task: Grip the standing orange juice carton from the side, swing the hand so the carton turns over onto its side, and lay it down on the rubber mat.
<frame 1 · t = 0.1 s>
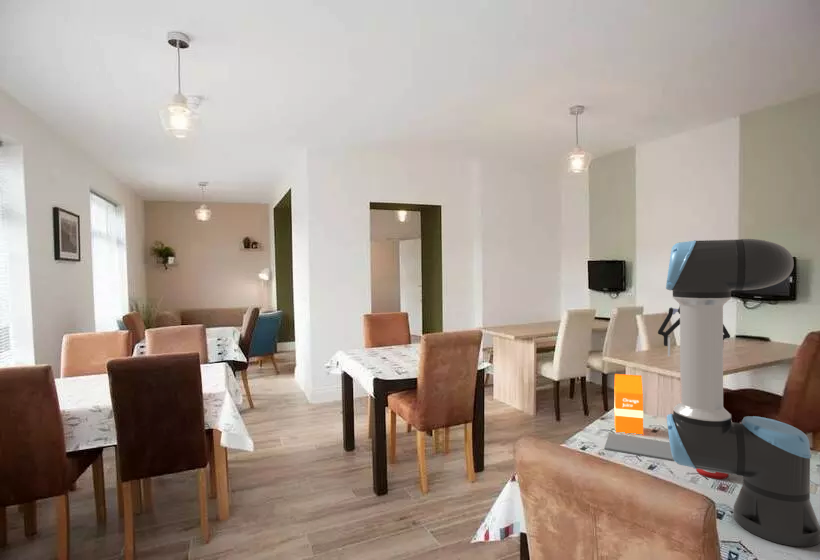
hand: (692, 357, 149), 28 cm above the table, tool pointing down, fingers open, 13 cm apart
mat: (642, 447, 145), on the table
canned food: (712, 474, 126), on the table
orange juice: (628, 430, 160), on the table
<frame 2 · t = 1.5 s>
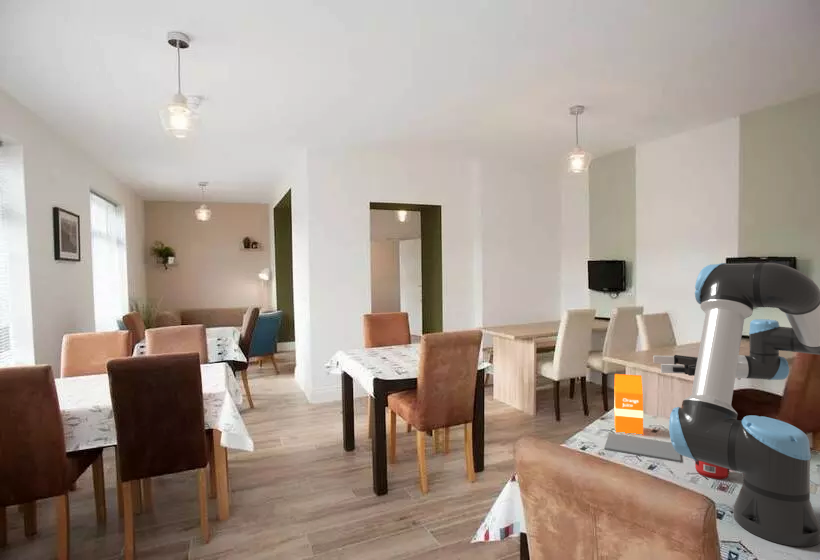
hand: (657, 363, 156), 24 cm above the table, tool horizontal, fingers open, 13 cm apart
nothing on the table moved.
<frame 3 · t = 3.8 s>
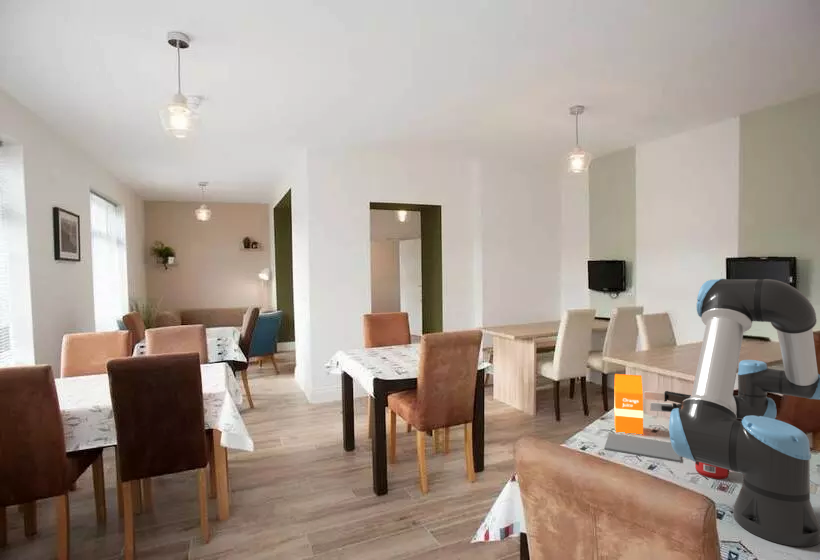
hand: (646, 400, 158), 11 cm above the table, tool horizontal, fingers open, 13 cm apart
nothing on the table moved.
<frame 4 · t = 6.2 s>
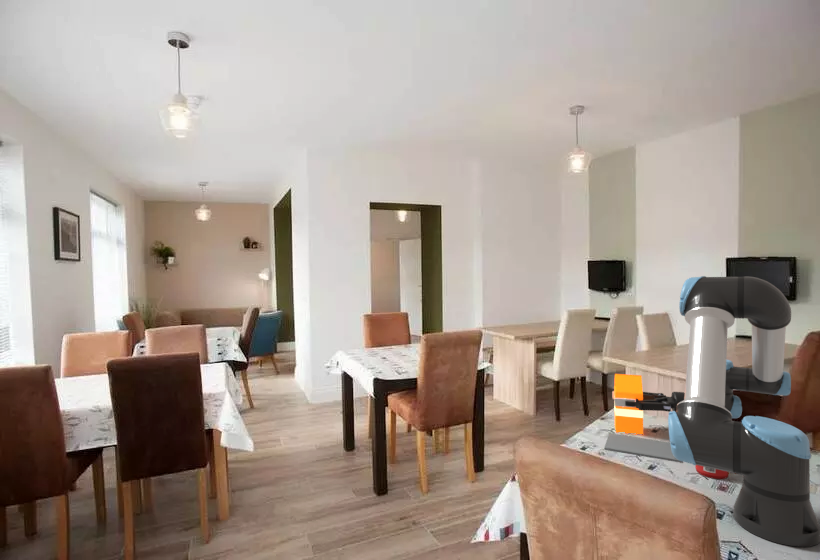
hand: (613, 398, 161), 11 cm above the table, tool horizontal, fingers closed on orange juice, 8 cm apart
orange juice: (628, 430, 160), on the table, touching gripper
everything else where it was.
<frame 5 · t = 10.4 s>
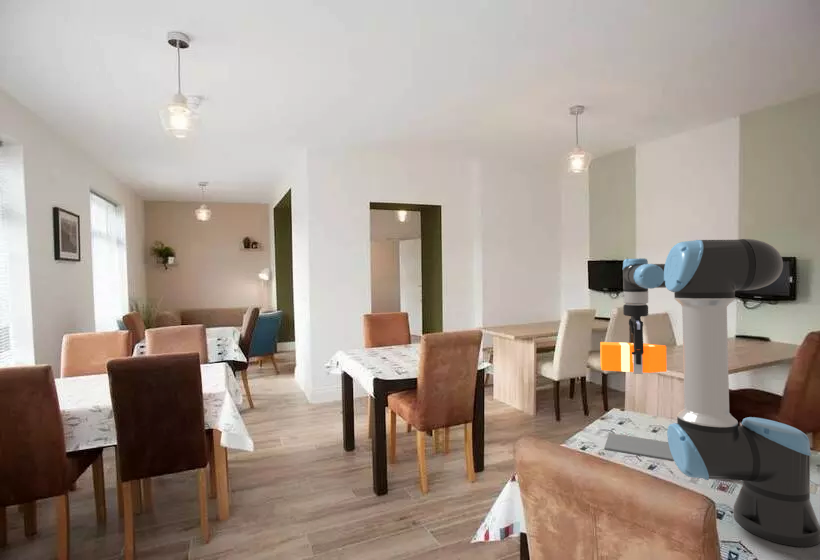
hand: (636, 370, 152), 23 cm above the table, tool pointing down, fingers closed on orange juice, 8 cm apart
orange juice: (600, 355, 155), point 28 cm above the table, touching gripper
everything else where it was.
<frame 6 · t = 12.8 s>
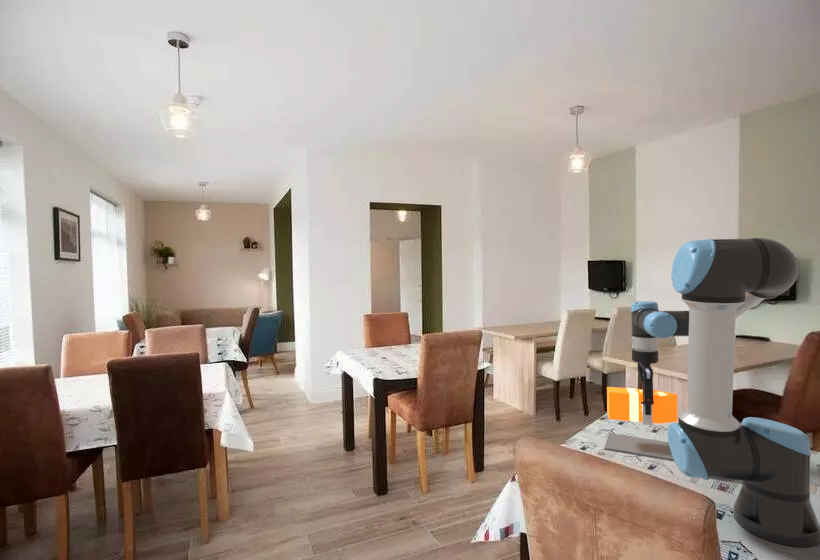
hand: (645, 419, 144), 9 cm above the table, tool pointing down, fingers closed on orange juice, 8 cm apart
orange juice: (607, 402, 147), point 14 cm above the table, touching gripper
everything else where it was.
when the fingers open (3 cm above the table, at t = 14.5 s): orange juice drops 2 cm, resting on mat.
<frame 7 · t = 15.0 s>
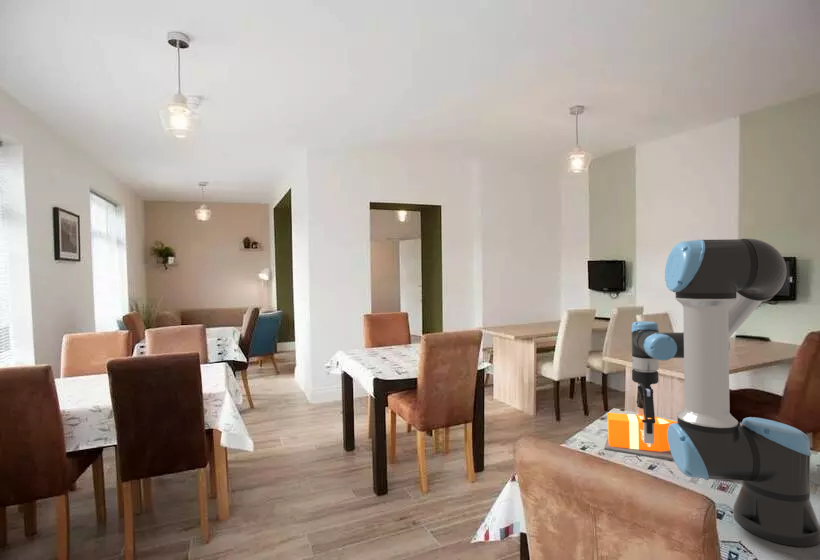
hand: (645, 435, 144), 4 cm above the table, tool pointing down, fingers open, 13 cm apart
orange juice: (607, 428, 148), point 5 cm above the table, touching mat
everything else where it was.
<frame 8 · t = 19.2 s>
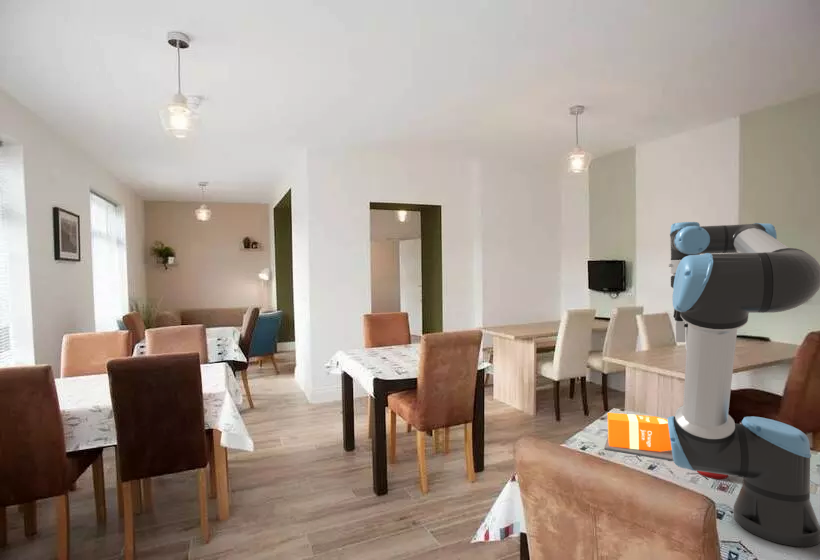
hand: (685, 345, 133), 35 cm above the table, tool pointing down, fingers open, 13 cm apart
nothing on the table moved.
at the end: orange juice tilted 90°; orange juice inside the target area on the mat (9.6 cm from its centre), point 4.9 cm above the mat's base; the gripper is holding nothing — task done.
